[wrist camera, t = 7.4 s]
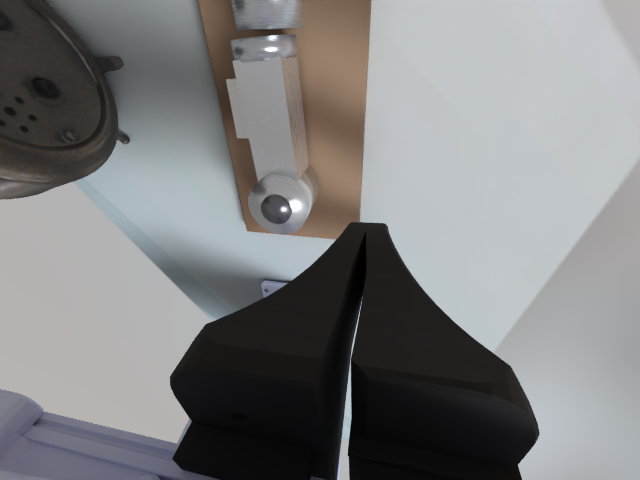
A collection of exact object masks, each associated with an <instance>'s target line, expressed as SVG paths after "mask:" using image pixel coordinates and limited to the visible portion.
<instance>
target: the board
mask: <svg viewBox="0 0 640 480" xmlns="http://www.w3.org/2000/svg"><path fill="white" fill-rule="evenodd" d="M198 2H199V7H200V11H201V16H202V21H203V26H204V30H205V35H206V40H207V44H208V49H209V54H210V59H211V63H212V68H213V73H214V78H215V82H216V87H217V92H218V97H219V101H220V106H221V111H222V115H223V120H224V125H225V130H226V134H227V139H228V144H229V149H230V153H231V158H232V163H233V168H234V172H235V177H236V182H237V186H238V191H239V196H240V201H241V205H242V210H243V215H244V220H245V224H246V229H247V231H251V232H262V233H273V232H270V231H268V230H266V229H264V228H263V227H262V226H260V225H259V224H258V223H257V222H256V221H255V219H254V218H253V216H252V215H251V212H250V210H249V206H248V197H249V193H250V191H251V190H252V188H253V187H254V186H255V185H256V184H257V183H258V179H257V174H256V170H255V165H254V160H253V156H252V151H251V146H250V142H249V139H248V138H237V135H236V129H235V124H234V119H233V114H232V109H231V103H230V98H229V93H228V88H227V83H226V79H229V78H234V77H236V76H235V71H234V66H233V62H232V61H234V56H233V51H232V46H231V42H230V41H231V40H235V39H242V38H250V37H259V36H271V35H286V34H296V35H297V44H298V53H299V57H298V66H299V75H300V85H301V94H302V104H303V114H304V123H305V133H306V142H307V152H308V162H309V165H310V166H311V167H312V168H313V169H314V170H315V172H316V173H317V175H318V178H319V182H320V191H319V194H318V196H317V198H316V200H315V202H314V204H313V206H312V208H311V210H310V213H309V215H308V217H307V219H306V221H305V223H304V224H303V226H302V227H301V228H300V229H299V230H297V231H295V232H293V233H290V234H284V235H295V236H306V237H317V238H328V239H337V238H338V237H339V236H340V235H341V234H342V232H343V231H344V230H345V228H346V227H347V226H348V224H350V223H351V222H360V206H361V187H362V168H363V149H364V130H365V111H366V92H367V73H368V54H369V35H370V16H371V0H303V16H304V29H297V30H283V31H236V26H235V20H234V13H233V7H232V1H231V0H198ZM273 234H277V233H273Z"/></svg>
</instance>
